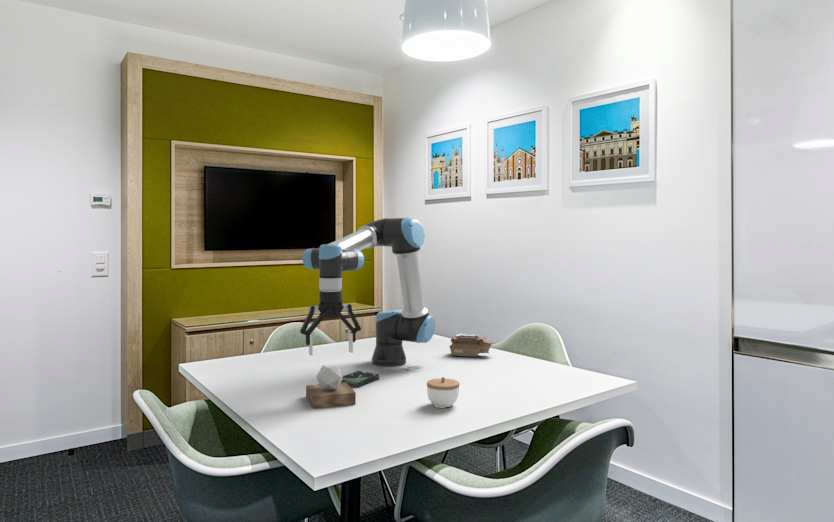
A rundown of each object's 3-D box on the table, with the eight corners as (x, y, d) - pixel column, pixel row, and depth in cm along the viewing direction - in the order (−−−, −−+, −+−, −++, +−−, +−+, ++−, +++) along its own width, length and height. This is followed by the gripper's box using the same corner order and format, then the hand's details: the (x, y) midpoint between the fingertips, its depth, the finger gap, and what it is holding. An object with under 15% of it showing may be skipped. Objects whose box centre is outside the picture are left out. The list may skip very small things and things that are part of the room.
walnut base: (345, 393, 198) (346, 382, 198) (355, 404, 185) (355, 392, 185) (306, 396, 194) (306, 385, 193) (312, 408, 180) (313, 396, 180)
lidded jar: (425, 401, 190) (425, 373, 190) (456, 400, 191) (456, 373, 191) (428, 410, 179) (428, 381, 179) (461, 410, 180) (461, 381, 180)
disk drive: (357, 377, 224) (335, 385, 210) (357, 370, 224) (335, 378, 210) (379, 380, 219) (358, 389, 206) (379, 373, 219) (358, 381, 206)
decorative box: (456, 351, 275) (456, 331, 275) (496, 354, 268) (496, 334, 268) (447, 356, 263) (447, 335, 263) (489, 360, 256) (489, 339, 255)
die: (330, 395, 183) (347, 370, 186) (308, 381, 185) (325, 356, 187) (333, 398, 191) (349, 373, 194) (312, 384, 192) (328, 360, 195)
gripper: (364, 288, 196) (364, 348, 197) (291, 290, 187) (291, 353, 188) (369, 290, 189) (369, 352, 190) (294, 292, 180) (295, 358, 181)
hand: (331, 353), depth 189 cm, fingers open, 13 cm apart
